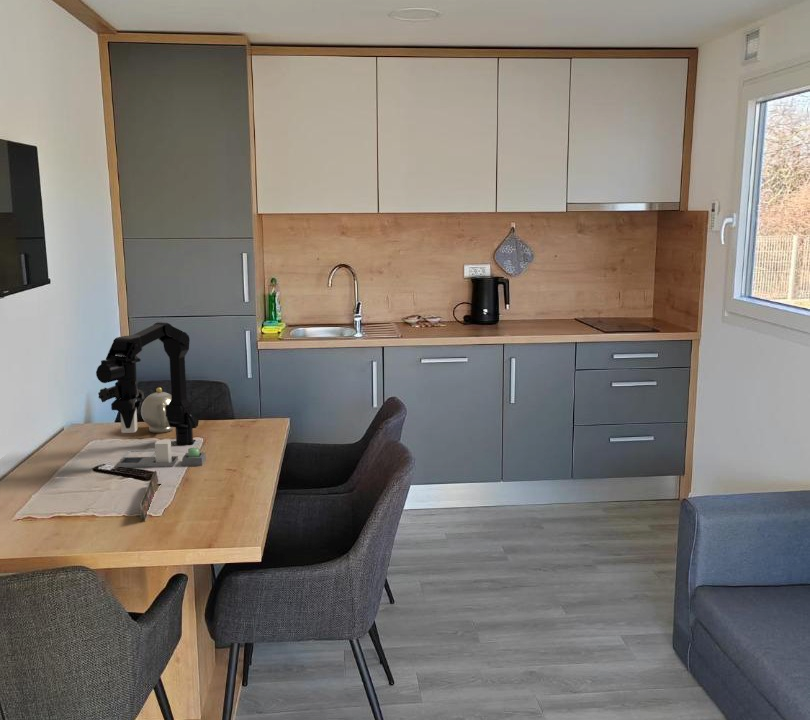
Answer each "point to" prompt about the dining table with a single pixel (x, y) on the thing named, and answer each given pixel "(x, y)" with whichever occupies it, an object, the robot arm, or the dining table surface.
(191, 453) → the button
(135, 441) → the dining table surface
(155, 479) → the incense holder
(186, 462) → the grey square tube
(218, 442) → the dining table surface
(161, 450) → the seated billet
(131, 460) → the tray
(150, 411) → the teapot
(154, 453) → the blue-grey square tray
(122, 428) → the block
